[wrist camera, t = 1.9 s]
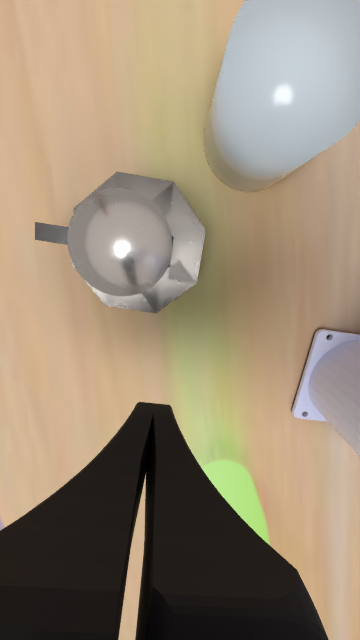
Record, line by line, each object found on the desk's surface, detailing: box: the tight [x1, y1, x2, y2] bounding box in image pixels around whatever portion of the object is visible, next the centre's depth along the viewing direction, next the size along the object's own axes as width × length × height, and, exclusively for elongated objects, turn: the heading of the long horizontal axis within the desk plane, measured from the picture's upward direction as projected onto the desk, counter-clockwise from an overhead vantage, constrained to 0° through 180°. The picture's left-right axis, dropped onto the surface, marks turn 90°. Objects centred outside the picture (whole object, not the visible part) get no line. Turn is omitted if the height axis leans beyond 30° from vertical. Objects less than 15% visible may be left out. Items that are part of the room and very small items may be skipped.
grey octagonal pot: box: [35, 172, 206, 313], centre depth 16 cm, size 9×7×5 cm
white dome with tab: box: [204, 0, 360, 192], centre depth 13 cm, size 6×8×7 cm
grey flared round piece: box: [68, 188, 172, 296], centre depth 12 cm, size 4×4×6 cm
